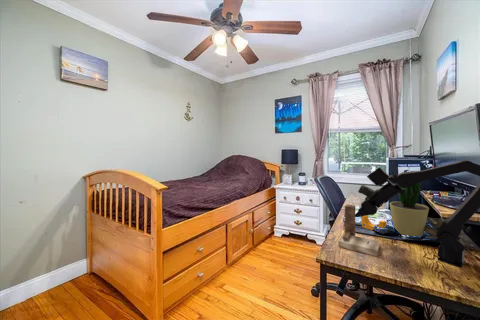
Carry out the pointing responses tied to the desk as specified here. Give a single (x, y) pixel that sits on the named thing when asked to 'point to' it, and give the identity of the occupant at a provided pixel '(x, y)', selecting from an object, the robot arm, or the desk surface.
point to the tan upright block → (349, 221)
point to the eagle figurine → (430, 232)
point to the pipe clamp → (369, 224)
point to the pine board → (360, 244)
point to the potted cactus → (409, 212)
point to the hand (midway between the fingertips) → (357, 213)
